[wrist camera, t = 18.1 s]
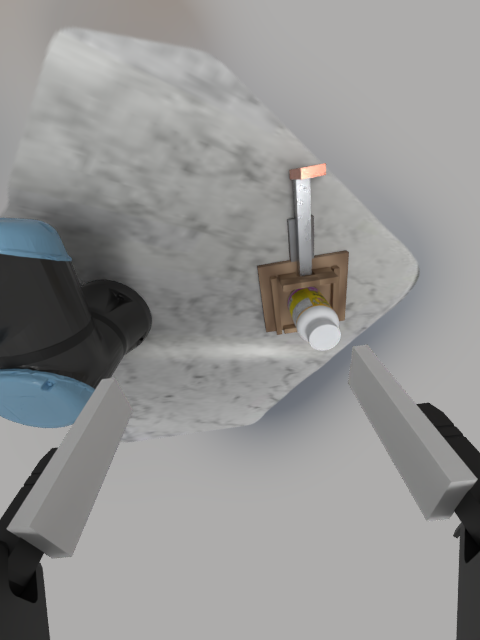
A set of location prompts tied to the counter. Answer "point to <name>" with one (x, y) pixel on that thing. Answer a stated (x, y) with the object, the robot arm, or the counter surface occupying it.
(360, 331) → the counter surface
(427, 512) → the robot arm
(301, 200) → the lock pin
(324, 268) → the dock
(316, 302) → the supplement bottle
